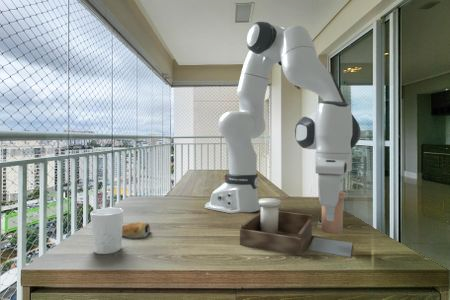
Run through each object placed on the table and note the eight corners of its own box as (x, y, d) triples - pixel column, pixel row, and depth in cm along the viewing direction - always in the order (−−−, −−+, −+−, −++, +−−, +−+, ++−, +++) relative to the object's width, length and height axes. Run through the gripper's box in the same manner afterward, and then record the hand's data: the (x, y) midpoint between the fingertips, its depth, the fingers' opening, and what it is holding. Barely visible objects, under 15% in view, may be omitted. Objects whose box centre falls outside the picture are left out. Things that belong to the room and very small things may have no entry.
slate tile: (307, 252, 75) (307, 249, 75) (314, 240, 84) (314, 237, 84) (350, 259, 71) (350, 256, 71) (352, 245, 80) (352, 243, 80)
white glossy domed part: (255, 235, 86) (255, 201, 85) (262, 229, 92) (262, 197, 91) (276, 239, 83) (277, 203, 83) (282, 232, 89) (283, 199, 88)
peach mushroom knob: (317, 232, 76) (317, 193, 75) (320, 225, 82) (321, 189, 81) (344, 235, 73) (344, 195, 73) (345, 228, 79) (346, 191, 78)
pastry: (112, 238, 86) (112, 225, 85) (123, 231, 92) (122, 218, 92) (144, 239, 85) (144, 226, 85) (152, 232, 91) (152, 219, 91)
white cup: (97, 244, 80) (96, 207, 80) (127, 243, 81) (126, 207, 81) (86, 255, 73) (85, 215, 72) (119, 255, 73) (118, 215, 73)
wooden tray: (239, 246, 79) (240, 222, 79) (259, 229, 93) (259, 208, 93) (300, 257, 72) (300, 230, 72) (311, 237, 86) (312, 215, 86)
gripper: (325, 160, 87) (324, 206, 88) (314, 166, 69) (313, 225, 69) (348, 161, 84) (347, 209, 85) (343, 168, 66) (341, 229, 67)
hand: (332, 216), depth 77 cm, fingers closed on peach mushroom knob, 6 cm apart
